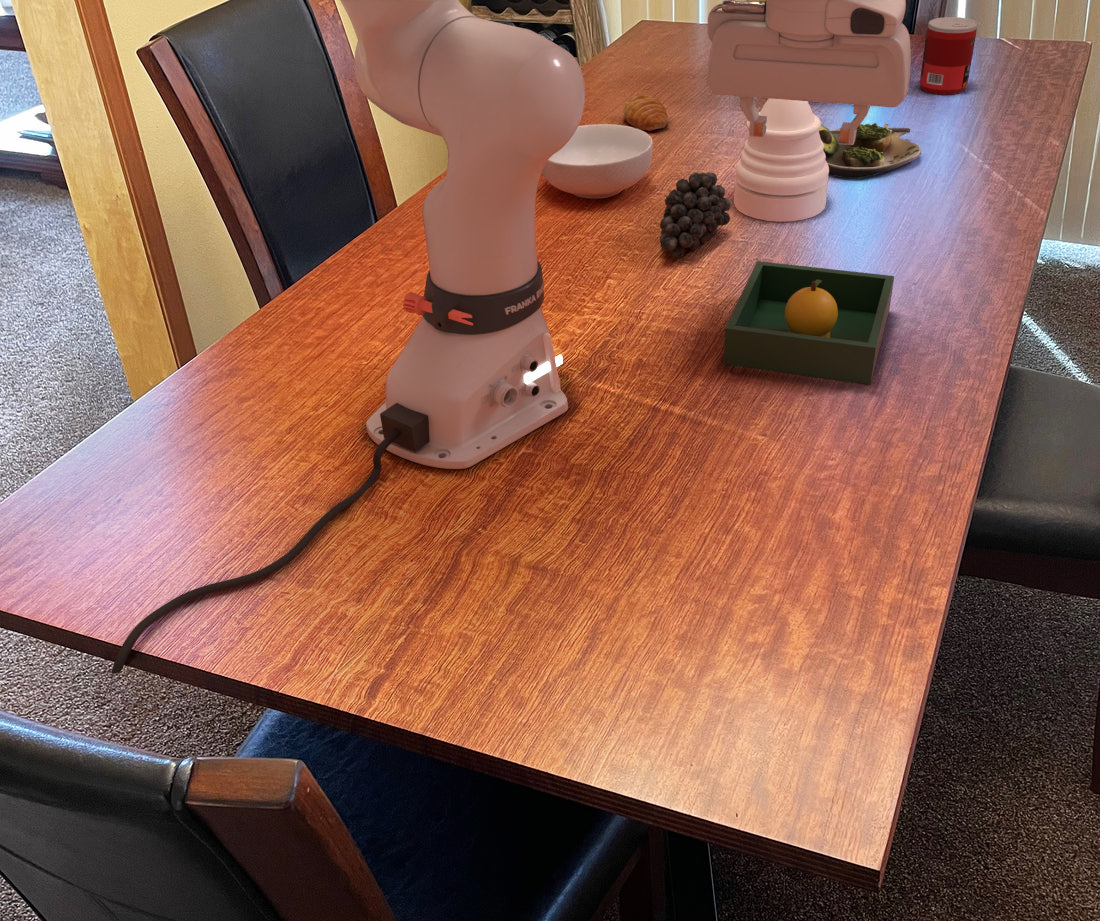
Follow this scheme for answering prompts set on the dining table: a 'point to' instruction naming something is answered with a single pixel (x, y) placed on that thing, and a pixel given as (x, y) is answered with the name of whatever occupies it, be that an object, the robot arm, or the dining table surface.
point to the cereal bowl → (600, 161)
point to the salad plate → (867, 151)
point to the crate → (843, 357)
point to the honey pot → (783, 166)
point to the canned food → (947, 55)
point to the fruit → (693, 213)
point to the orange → (811, 311)
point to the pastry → (645, 113)
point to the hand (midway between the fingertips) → (801, 138)
